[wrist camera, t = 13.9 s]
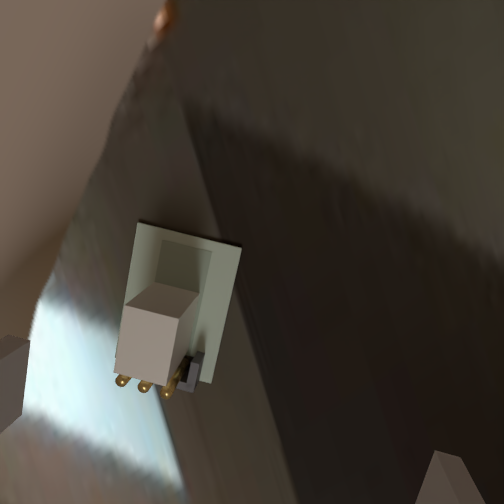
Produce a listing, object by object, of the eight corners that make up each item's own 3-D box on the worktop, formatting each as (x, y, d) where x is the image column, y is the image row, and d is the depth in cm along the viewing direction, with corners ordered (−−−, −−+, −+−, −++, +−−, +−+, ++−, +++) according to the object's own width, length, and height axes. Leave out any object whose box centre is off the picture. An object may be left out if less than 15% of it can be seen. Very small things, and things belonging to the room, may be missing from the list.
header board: (138, 222, 40) (127, 226, 38) (242, 247, 40) (237, 253, 37) (116, 356, 43) (104, 368, 41) (211, 382, 43) (205, 396, 40)
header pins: (139, 342, 43) (113, 370, 37) (194, 356, 42) (176, 387, 36) (136, 356, 43) (110, 387, 37) (190, 371, 43) (173, 404, 37)
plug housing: (154, 281, 41) (124, 305, 34) (199, 293, 41) (178, 319, 34) (144, 338, 42) (113, 372, 36) (188, 350, 42) (165, 386, 35)
